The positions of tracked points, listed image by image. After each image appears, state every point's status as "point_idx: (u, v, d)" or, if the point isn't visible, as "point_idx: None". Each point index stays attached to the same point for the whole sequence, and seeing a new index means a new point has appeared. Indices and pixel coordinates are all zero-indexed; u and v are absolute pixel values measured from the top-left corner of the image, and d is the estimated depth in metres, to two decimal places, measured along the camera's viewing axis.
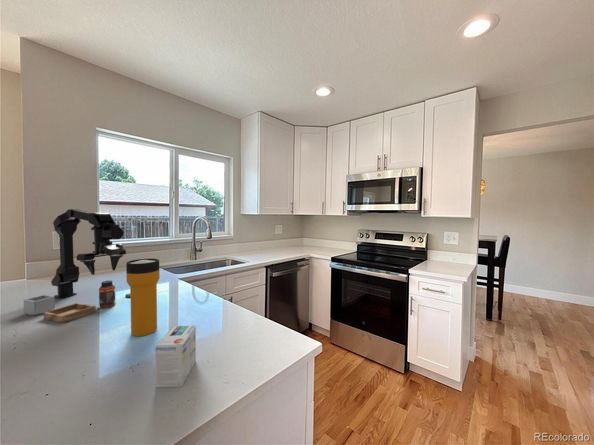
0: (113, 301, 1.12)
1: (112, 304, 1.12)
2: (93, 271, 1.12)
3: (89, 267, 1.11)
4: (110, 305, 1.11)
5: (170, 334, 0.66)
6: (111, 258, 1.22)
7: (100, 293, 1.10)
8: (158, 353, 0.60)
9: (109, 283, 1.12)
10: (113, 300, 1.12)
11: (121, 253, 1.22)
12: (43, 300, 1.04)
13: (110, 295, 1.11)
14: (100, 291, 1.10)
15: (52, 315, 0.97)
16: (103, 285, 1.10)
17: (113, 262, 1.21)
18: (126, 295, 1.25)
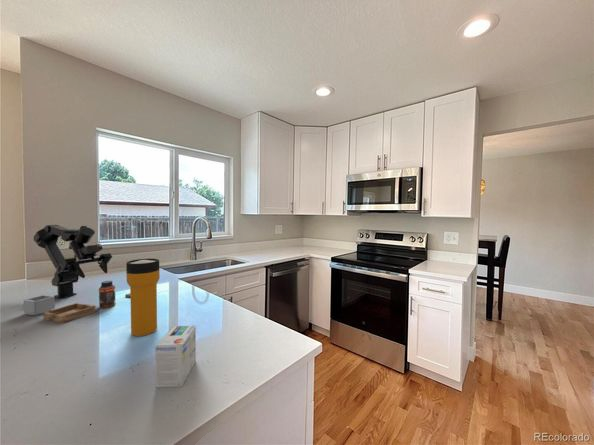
0: (113, 301, 1.12)
1: (112, 304, 1.12)
2: (82, 273, 1.11)
3: (77, 272, 1.11)
4: (110, 305, 1.11)
5: (170, 334, 0.66)
6: (100, 265, 1.22)
7: (100, 293, 1.10)
8: (158, 353, 0.60)
9: (109, 283, 1.12)
10: (113, 300, 1.12)
11: (106, 255, 1.22)
12: (43, 300, 1.04)
13: (110, 295, 1.11)
14: (100, 291, 1.10)
15: (52, 315, 0.97)
16: (103, 285, 1.10)
17: (103, 266, 1.21)
18: (126, 295, 1.25)
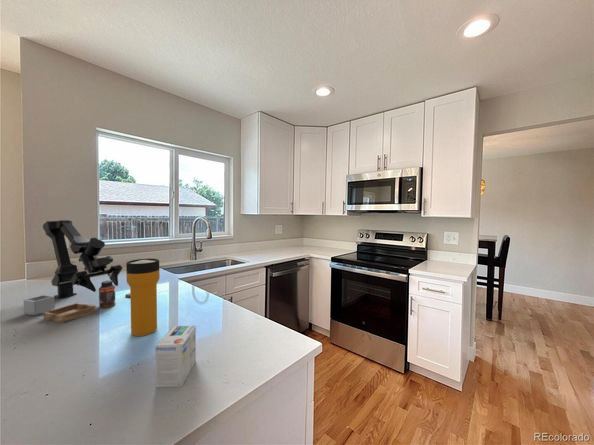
0: (113, 301, 1.12)
1: (112, 304, 1.12)
2: (93, 287, 1.08)
3: (88, 286, 1.08)
4: (110, 305, 1.11)
5: (170, 334, 0.66)
6: (111, 278, 1.19)
7: (100, 293, 1.10)
8: (158, 353, 0.60)
9: (109, 283, 1.12)
10: (113, 300, 1.12)
11: (116, 267, 1.20)
12: (43, 300, 1.04)
13: (110, 295, 1.11)
14: (100, 291, 1.10)
15: (52, 315, 0.97)
16: (103, 285, 1.10)
17: (113, 279, 1.18)
18: (126, 295, 1.25)
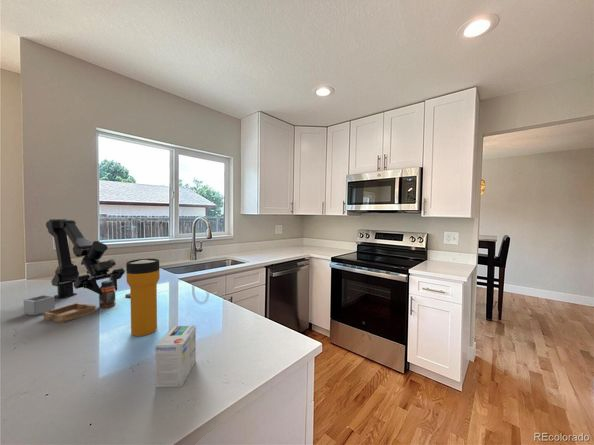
0: (113, 301, 1.12)
1: (112, 304, 1.12)
2: (99, 290, 1.09)
3: (94, 289, 1.09)
4: (110, 305, 1.11)
5: (170, 334, 0.66)
6: None
7: None
8: (158, 353, 0.60)
9: (109, 283, 1.12)
10: (113, 300, 1.12)
11: (119, 271, 1.19)
12: (43, 300, 1.04)
13: (110, 295, 1.11)
14: None
15: (52, 315, 0.97)
16: (103, 285, 1.10)
17: (112, 283, 1.16)
18: (126, 295, 1.25)
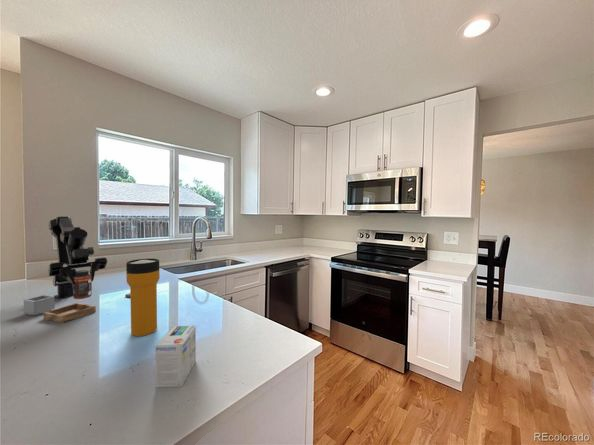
0: (87, 292, 1.04)
1: (85, 296, 1.04)
2: (72, 279, 1.02)
3: (68, 277, 1.02)
4: (83, 297, 1.03)
5: (170, 334, 0.66)
6: (90, 272, 1.10)
7: None
8: (158, 353, 0.60)
9: (84, 273, 1.04)
10: (87, 291, 1.04)
11: (99, 260, 1.11)
12: (43, 300, 1.04)
13: (83, 286, 1.03)
14: None
15: (52, 315, 0.97)
16: (77, 274, 1.03)
17: (91, 273, 1.08)
18: (126, 295, 1.25)
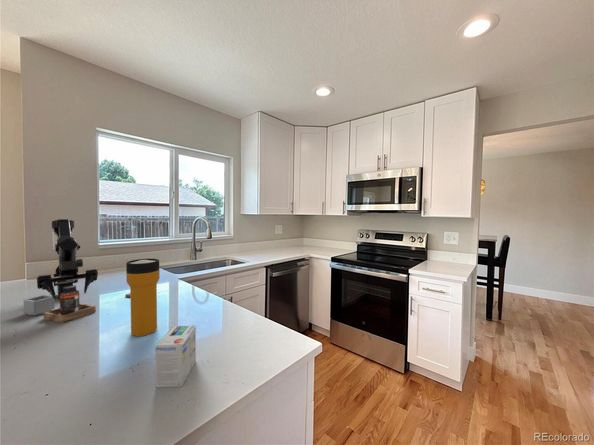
0: (73, 309, 1.01)
1: (72, 312, 1.01)
2: (53, 293, 0.98)
3: (50, 291, 0.99)
4: (69, 313, 1.00)
5: (170, 334, 0.66)
6: None
7: (60, 299, 1.00)
8: (158, 353, 0.60)
9: (70, 289, 1.01)
10: (73, 308, 1.01)
11: (89, 272, 1.08)
12: (43, 300, 1.04)
13: (69, 303, 1.00)
14: (60, 297, 1.00)
15: (52, 315, 0.97)
16: (63, 290, 1.00)
17: None
18: (126, 295, 1.25)
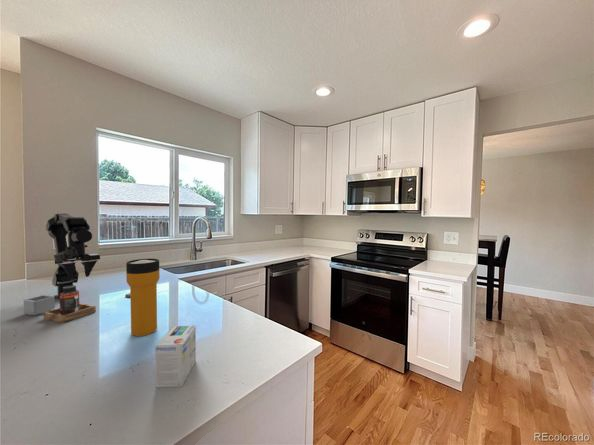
0: (73, 309, 1.01)
1: (72, 312, 1.01)
2: (68, 274, 1.15)
3: None
4: (69, 313, 1.00)
5: (170, 334, 0.66)
6: None
7: (60, 299, 1.00)
8: (158, 353, 0.60)
9: (70, 289, 1.01)
10: (73, 308, 1.01)
11: (82, 259, 1.11)
12: (43, 300, 1.04)
13: (68, 303, 1.00)
14: (60, 297, 1.00)
15: (52, 315, 0.97)
16: (63, 290, 1.00)
17: None
18: (126, 295, 1.25)
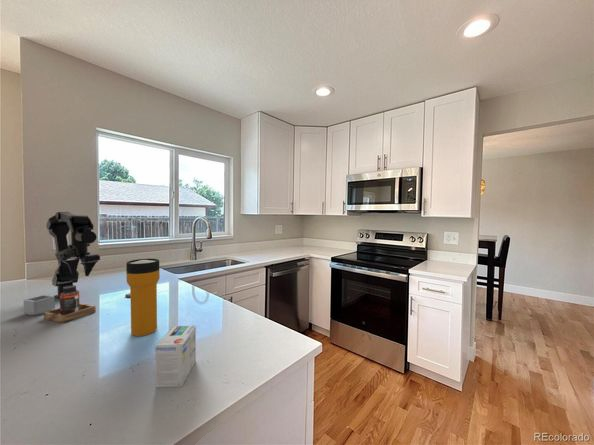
0: (73, 309, 1.01)
1: (72, 312, 1.01)
2: (70, 271, 1.17)
3: None
4: (69, 313, 1.00)
5: (170, 334, 0.66)
6: None
7: (60, 299, 1.00)
8: (158, 353, 0.60)
9: (70, 289, 1.01)
10: (73, 308, 1.01)
11: (82, 260, 1.11)
12: (43, 300, 1.04)
13: (69, 303, 1.00)
14: (60, 297, 1.00)
15: (52, 315, 0.97)
16: (63, 290, 1.00)
17: None
18: (126, 295, 1.25)
